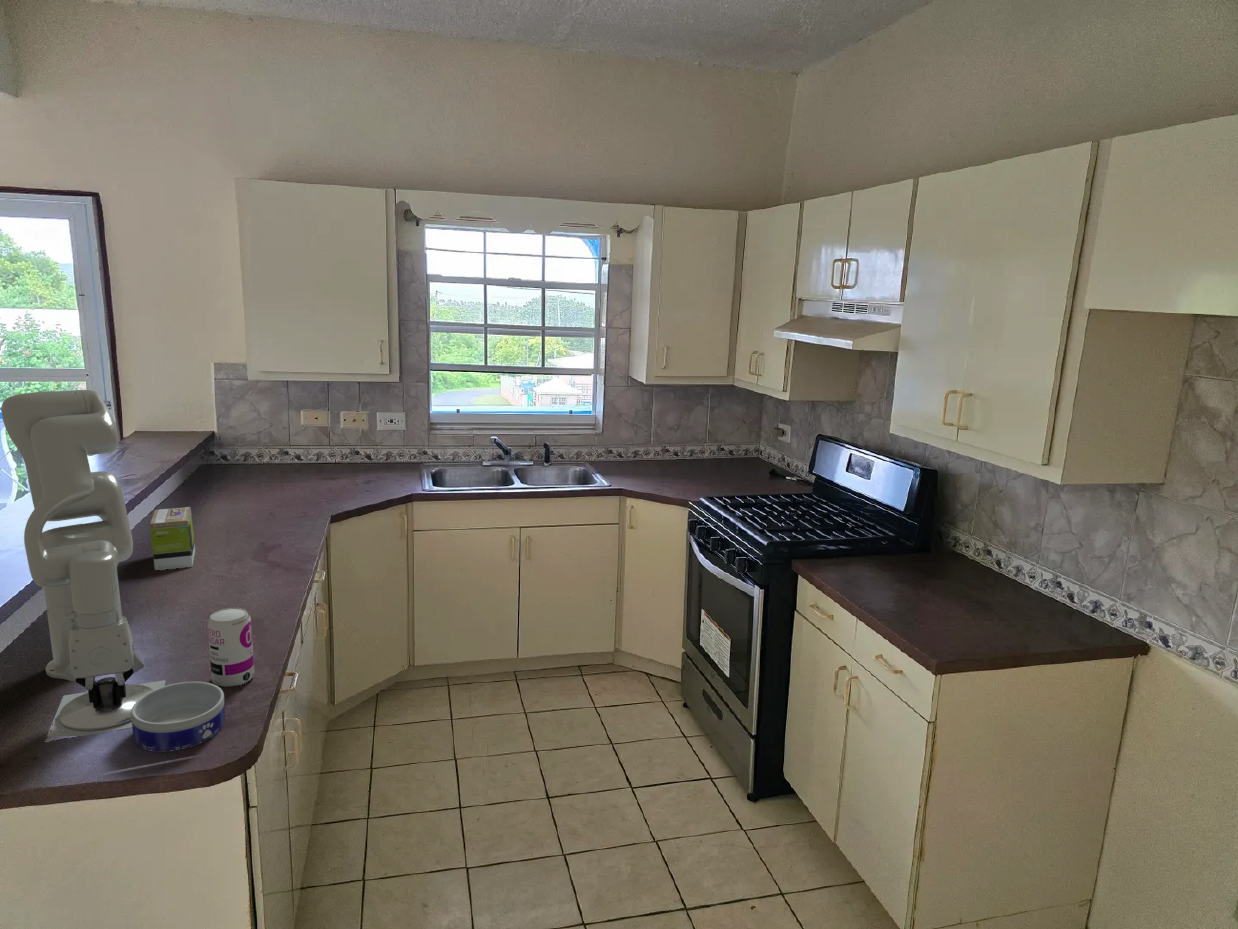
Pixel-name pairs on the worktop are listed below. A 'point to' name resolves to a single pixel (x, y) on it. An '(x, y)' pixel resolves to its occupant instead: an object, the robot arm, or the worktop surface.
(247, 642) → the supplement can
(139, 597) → the worktop surface
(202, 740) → the dog bowl
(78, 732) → the mat
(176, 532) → the tea box
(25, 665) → the worktop surface
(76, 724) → the lid
